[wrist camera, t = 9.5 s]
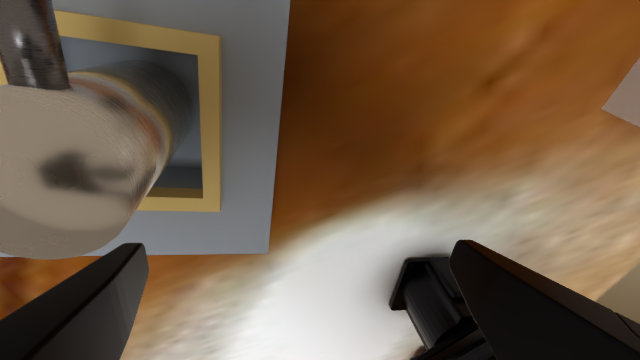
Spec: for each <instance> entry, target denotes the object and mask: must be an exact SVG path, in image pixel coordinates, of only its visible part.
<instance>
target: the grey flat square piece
mask: <svg viewBox="0 0 640 360" xmlns="http://www.w3.org/2000/svg"><path fill="white" fill-rule="evenodd" d="M52 4H53V9H54V13H55V18H56V22H57V27H58V32H59V36H60V41H61V45H62V50H63V55H64V59H65V64H66V68H67V72H69V71H74V70H79V69H84V68H89V67H94V66H99V65H104V64H109V63H114V62H119V61H124V60H143V61H148V62H151V63H154V64H157V65H159V66H161V67H163V68H165V69H166V70H168V71H169V72H171V73H172V74H173V75H175V76H176V77H177V78H178V79H179V80H180V81H181V83H182V84H183V85H184V86H185V88H186V89H187V91H188V93H189V95H190V97H191V99H192V102H193V106H194V122H193V126H192V128H191V130H190V132H189V134H188V135H187V137H186V138H185V140H184V141H183V143H182V144H181V145H180V147H179V148H178V150H177V151H176V153H175V154H174V156H173V157H172V159H171V160H170V162H169V163H168V164H167V166H166V167H165V169H164V170H163V172H162V173H161V175H160V176H159V178H158V179H157V180H156V182H155V183H154V185H153V186H152V188H151V189H150V191H149V192H148V194H147V195H146V196H145V198H144V199H143V201H142V202H141V204H140V205H139V207H138V208H137V210H136V211H135V212H134V214H133V215H132V217H131V218H130V220H129V221H128V223H127V224H126V226H125V227H124V228H123V230H122V231H121V232H120V234H119V235H118V236H117V237H116V238H114V239H113V240H112V241H111V242H109V243H108V244H107V245H105V246H103V247H101V248H100V249H98V250H96V251H93V252H90V253H87V254H84V255H80V256H104V255H106V254H107V253H109V252H110V251H112V250H114V249H115V248H117V247H118V246H120V245H122V244H124V243H142V244H144V246H145V249H146V255H189V254H268V248H269V237H270V225H271V214H272V203H273V191H274V180H275V169H276V158H277V146H278V135H279V124H280V112H281V101H282V90H283V78H284V67H285V56H286V45H287V33H288V22H289V11H290V0H52ZM5 84H8V81H7V78H6V74H5V71H4V68H3V65H2V61H1V58H0V85H5ZM0 257H18V256H13V255H8V254H4V253H0Z"/></svg>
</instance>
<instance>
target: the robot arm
mask: <svg viewBox="0 0 640 360" xmlns="http://www.w3.org/2000/svg"><path fill="white" fill-rule="evenodd" d="M148 273H149V266H148V261H147V255H146V249H145V246H144V244H142V243H124V244H122V245H120V246H118V247H117V248H115V249H114V250H112V251H110V252H109V253H107V254H106V255H104V256H102V257H101V258H99V259H98V260H96V261H94V262H93V263H91V264H90V265H88V266H86V267H85V268H83V269H82V270H80V271H78V272H77V273H75V274H74V275H72V276H70V277H69V278H67V279H66V280H64V281H62V282H61V283H59V284H57V285H56V286H54V287H53V288H51V289H49V290H48V291H46V292H45V293H43V294H41V295H40V296H38V297H37V298H35V299H33V300H32V301H30V302H29V303H27V304H25V305H24V306H22V307H21V308H19V309H17V310H16V311H14V312H13V313H11V314H9V315H8V316H6V317H5V318H3V319H1V320H0V360H120V357H121V355H122V353H123V350H124V348H125V346H126V343H127V341H128V338H129V336H130V333H131V330H132V327H133V323H134V320H135V317H136V314H137V310H138V307H139V304H140V301H141V297H142V294H143V291H144V288H145V285H146V281H147V278H148ZM389 306H390V308H391V310H394V311H395V310H406V311H407V313H408V315H409V317H410V319H411V321H412V323H413V325H414V327H415V329H416V331H417V333H418V334H419V336H420V338H421V340H422V342H423V344H424V346H425V348H426V351H425V352H423V353H421V354H420V355H418V356H414V357H413V358H411V359H410V360H640V324H638V323H637V322H635V321H633V320H630V319H629V318H626V317H624V316H623V315H620V314H618V313H616V312H613V311H612V310H610V309H608V308H606V307H604V306H602V305H600V304H598V303H596V302H594V301H593V300H591V299H589V298H587V297H585V296H583V295H581V294H579V293H577V292H575V291H573V290H571V289H569V288H567V287H565V286H563V285H561V284H559V283H557V282H555V281H553V280H551V279H549V278H547V277H545V276H543V275H541V274H539V273H537V272H535V271H533V270H531V269H529V268H527V267H525V266H523V265H521V264H519V263H517V262H515V261H513V260H511V259H509V258H507V257H505V256H503V255H501V254H499V253H497V252H495V251H493V250H491V249H489V248H487V247H485V246H483V245H481V244H479V243H477V242H475V241H473V240H459V241H457V242H456V244H455V246H454V249H453V251H452V254H451V256H450V258H410V259H408V260H406V261H405V263H404V266H403V269H402V271H401V274H400V277H399V279H398V282H397V285H396V287H395V290H394V293H393V295H392V298H391V301H390V303H389Z"/></svg>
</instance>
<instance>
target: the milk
mask: <svg viewBox="0 0 640 360" xmlns="http://www.w3.org/2000/svg"><path fill="white" fill-rule="evenodd" d="M601 109H602V110H604V111H606V112H608V113H611V114H613V115H615V116H617V117H619V118H621V119H623V120H625V121H627V122H629V123H632V124H634V125H636V126H638V127H640V58H639V59H638V60H637V62H636V63H635V64H634V66H633V67H632V68H631V70H630V71H629V72H628V74H627V75H626V76H625V78H624V79H623V80H622V82H621V83H620V84H619V86H618V87H617V88H616V90H615V91H614V92H613V94H612V95H611V96H610V98H609V99H608V100H607V102H606V103H605V104H604V106H603V107H602V108H601Z"/></svg>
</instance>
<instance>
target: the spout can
mask: <svg viewBox="0 0 640 360" xmlns="http://www.w3.org/2000/svg"><path fill="white" fill-rule="evenodd" d="M0 58H1V61H2V65H3V68H4V71H5V74H6V78H7V81H8V84H5V85H0V253H4V254H8V255H13V256H18V257H23V258H32V259H64V258H71V257H76V256H80V255H84V254H87V253H90V252H93V251H96V250H98V249H100V248H101V247H103V246H105V245H107V244H108V243H109V242H111V241H112V240H113V239H114V238H116V237H117V236H118V235H119V234H120V232H121V231H122V230H123V228H124V227H125V226H126V224H127V223H128V221H129V220H130V218H131V217H132V215H133V214H134V212H135V211H136V210H137V208H138V207H139V205H140V204H141V202H142V201H143V199H144V198H145V196H146V195H147V194H148V192H149V191H150V189H151V188H152V186H153V185H154V183H155V182H156V180H157V179H158V178H159V176H160V175H161V173H162V172H163V170H164V169H165V167H166V166H167V164H168V163H169V162H170V160H171V159H172V157H173V156H174V154H175V153H176V151H177V150H178V148H179V147H180V145H181V144H182V143H183V141H184V140H185V138H186V137H187V135H188V134H189V132H190V130H191V128H192V126H193V122H194V106H193V102H192V99H191V97H190V95H189V93H188V91H187V89H186V88H185V86H184V85H183V84H182V83H181V81H180V80H179V79H178V78H177V77H176V76H175V75H173V74H172V73H171V72H169V71H168V70H166V69H165V68H163V67H161V66H159V65H157V64H154V63H151V62H148V61H143V60H124V61H119V62H114V63H109V64H104V65H99V66H94V67H89V68H84V69H79V70H74V71H69V72H67V68H66V64H65V59H64V55H63V50H62V45H61V41H60V36H59V32H58V27H57V22H56V18H55V13H54V9H53V4H52V0H0Z"/></svg>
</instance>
